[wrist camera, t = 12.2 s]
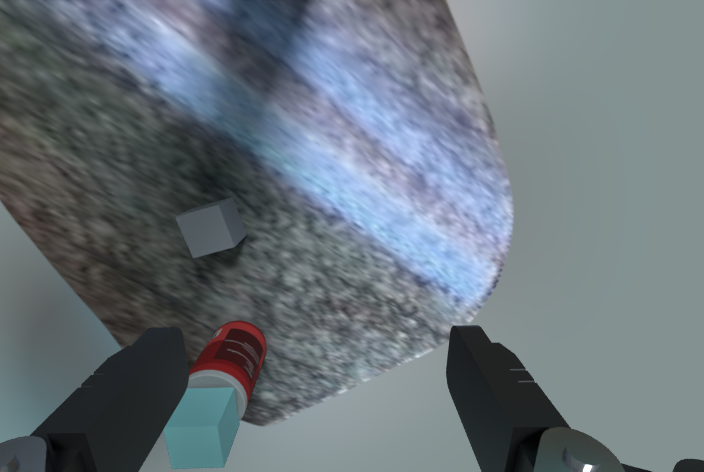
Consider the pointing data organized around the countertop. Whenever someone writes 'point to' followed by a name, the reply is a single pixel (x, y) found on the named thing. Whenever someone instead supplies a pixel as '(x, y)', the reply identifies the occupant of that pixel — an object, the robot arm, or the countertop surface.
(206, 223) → the slate block
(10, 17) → the countertop surface
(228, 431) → the teal block
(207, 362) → the canned food
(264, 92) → the countertop surface
